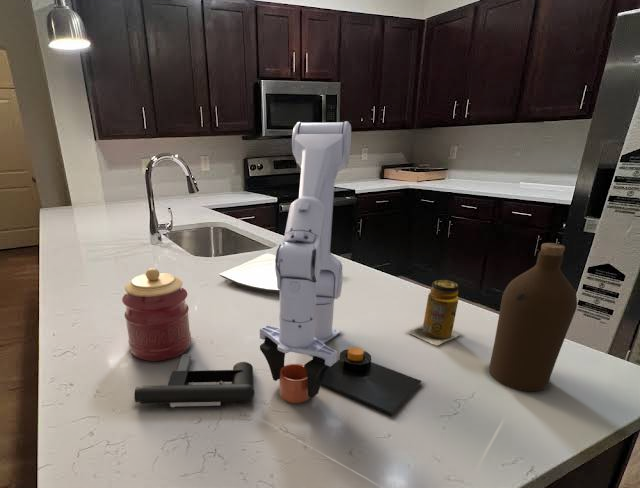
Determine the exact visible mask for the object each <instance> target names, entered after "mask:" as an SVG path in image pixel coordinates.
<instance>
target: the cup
mask: <svg viewBox="0 0 640 488" xmlns="http://www.w3.org/2000/svg"><path fill="white" fill-rule="evenodd" d="M304 365H305V364H301V363H289V364H286V365H285V364H284V366H283V367H282V368H281V369H280V377H279V379H278V380H279V386H278V387H279V389H278V390H279V396H280V398H281V399H282V400H283V401H286V402H288V403H292V404H299V403H304V402H307V401H308V400H309V399H310V397H308V378H307V373H306V370H305V367H304Z"/></svg>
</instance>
